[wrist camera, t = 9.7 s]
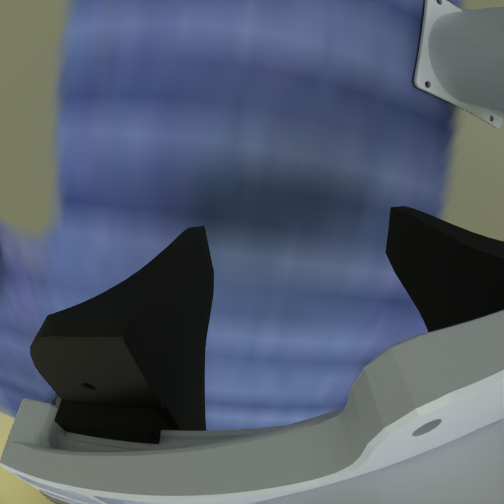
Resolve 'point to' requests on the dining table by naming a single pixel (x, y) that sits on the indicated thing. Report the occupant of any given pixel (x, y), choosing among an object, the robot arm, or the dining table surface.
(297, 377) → the dining table surface
